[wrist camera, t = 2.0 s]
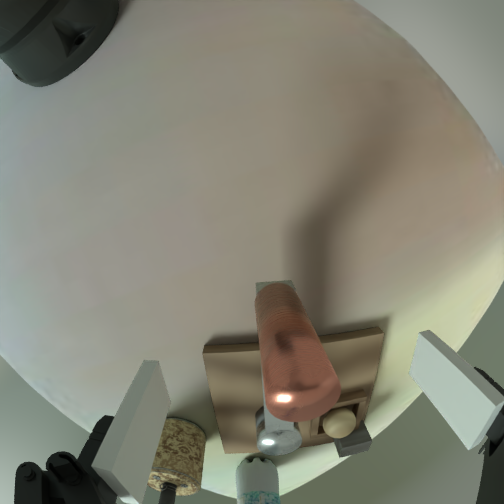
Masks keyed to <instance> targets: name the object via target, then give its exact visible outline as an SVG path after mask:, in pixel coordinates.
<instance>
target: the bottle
mask: <svg viewBox="0 0 504 504" xmlns="http://www.w3.org/2000/svg"><path fill="white" fill-rule="evenodd" d="M236 488H237V504H280V498H279V479H278V471H277V468H276V467H275V465H274V464H273V463H272V462H271V461H270V460H269V459H265V460H264V462H261V461H260V459H259V458H258V457H257V458H254V460H253V462H251V463H249V460H244V461H242V463H241V464H240V465H239V466H238V467H237V470H236Z"/></svg>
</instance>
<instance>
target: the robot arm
mask: <svg viewBox="0 0 504 504" xmlns="http://www.w3.org/2000/svg"><path fill="white" fill-rule="evenodd" d="M118 9H119V2H118V0H0V58H1V59H2V60H3V61H4V62H5V63H6V64H7V65H8V66H9V67H10V68H11V69H12V72H13V74H14V75H15V77H16V78H17V79H18V80H20V81H21V82H23V83H26V84H29V85H31V86H35V87H43V86H47V85H50V84H53V83H55V82H57V81H59V80H61V79H63V78H64V77H66V76H67V75H69V74H70V73H72V72H73V71H74V70H75V69H77V68H78V67H79V66H80V65H81V64H82V63H84V62H85V61H86V60H87V59H88V58H89V57H90V56H91V55H92V54H93V53H94V51H95V50H96V49H97V48H98V47H99V46H100V44H101V43H102V42H103V40H104V39H105V38H106V36H107V35H108V33H109V31H110V30H111V28H112V26H113V24H114V22H115V20H116V17H117V14H118ZM409 375H410V376H411V377H412V378H413V379H414V381H415V382H416V383H417V384H418V386H419V387H420V388H421V389H422V391H423V392H424V393H425V394H426V396H427V397H428V398H429V399H430V401H431V402H432V403H433V404H434V406H435V407H436V408H437V409H438V411H439V412H440V413H441V415H442V416H443V417H444V418H445V420H446V421H447V422H448V423H449V425H450V426H451V427H452V429H453V430H454V432H455V433H456V434H457V436H458V437H459V438H460V440H461V441H462V442H463V444H464V445H465V446H466V448H467V449H468V450H470V449H471V448H473V447H475V446H476V445H478V444H479V443H480V442H481V441H482V439H483V438H484V436H485V435H487V436H488V439H487V441H486V442H485V443H484V445H483V446H482V448H481V449H480V450H479V453H478V454H480V453H481V452H482V451H483V449H484V448H485V451H484V453H483V454H484V464H483V470H482V477H481V482H480V487H479V492H478V497H477V501H476V504H504V389H503V388H502V387H501V386H500V385H498V384H497V383H496V382H494V380H493V379H492V378H490V377H489V375H487V374H486V373H485V372H484V371H483V370H481V369H479V368H476V367H474V368H473V367H472V366H471V365H470V364H468V363H467V362H466V361H465V360H464V359H463V358H462V357H461V356H459V355H458V354H457V353H456V352H455V351H454V350H453V349H451V348H450V347H449V346H448V345H447V344H446V343H444V342H443V341H442V340H441V339H440V338H439V337H437V336H436V335H435V334H434V333H433V332H432V331H430V330H427V331H423V332H419V334H418V339H417V343H416V348H415V352H414V356H413V360H412V364H411V368H410V371H409ZM170 404H171V401H170V397H169V394H168V391H167V388H166V385H165V381H164V378H163V375H162V371H161V368H160V364H159V361H148V360H144V361H143V363H142V365H141V367H140V369H139V371H138V373H137V374H136V376H135V378H134V380H133V382H132V384H131V386H130V388H129V390H128V392H127V394H126V396H125V398H124V399H123V401H122V403H121V405H120V407H119V409H118V411H117V413H116V415H115V417H114V416H108V415H105V416H104V417H102V418H101V419H100V420H99V421H98V422H97V423H96V425H95V427H94V429H93V432H91V434H90V436H89V439H88V440H87V442H86V444H85V446H84V447H83V449H82V451H81V454H80V455H79V457H78V459H76V458H75V457H74V456H73V455H72V454H70V453H68V452H57V453H54V454H52V455H51V456H50V457H49V458H48V460H47V462H46V469H47V470H48V471H43V470H42V469H41V468H40V467H39V466H38V465H37V464H35V463H33V462H24V463H23V464H21V465H20V466H19V467H18V468H17V471H16V477H15V495H14V504H116V499H117V496H118V497H119V498H120V499H121V500H122V501H123V502H126V503H130V504H142V502H143V498H144V494H145V490H146V486H147V483H148V479H149V476H150V472H151V468H152V465H153V461H154V458H155V454H156V451H157V447H158V444H159V440H160V437H161V434H162V430H163V427H164V423H165V420H166V417H167V413H168V410H169V407H170Z"/></svg>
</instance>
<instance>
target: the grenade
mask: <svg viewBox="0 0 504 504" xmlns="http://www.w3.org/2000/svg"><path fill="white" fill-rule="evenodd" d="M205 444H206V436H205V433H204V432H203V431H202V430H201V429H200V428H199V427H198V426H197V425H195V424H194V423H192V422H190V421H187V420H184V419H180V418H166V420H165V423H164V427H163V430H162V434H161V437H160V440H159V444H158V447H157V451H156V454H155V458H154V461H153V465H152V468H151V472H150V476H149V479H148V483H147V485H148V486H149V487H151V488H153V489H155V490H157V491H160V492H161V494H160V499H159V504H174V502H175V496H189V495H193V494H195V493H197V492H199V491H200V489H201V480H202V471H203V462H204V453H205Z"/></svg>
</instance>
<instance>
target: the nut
mask: <svg viewBox="0 0 504 504" xmlns="http://www.w3.org/2000/svg"><path fill="white" fill-rule="evenodd" d="M355 425H356V418H355V415H354V413H353V412H352V411H351V410H349V409H347V408H342V407H340V408H335V409H333V410H331V411H330V412H328V413H327V415H326V416H325V418H324V420H323V429H324V431H325V433H326V434H327V435H329V436H330V437H333V438H343V437H346V436H347V435H349V434H350V433H351V432H352V431H353V430H354V428H355Z"/></svg>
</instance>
